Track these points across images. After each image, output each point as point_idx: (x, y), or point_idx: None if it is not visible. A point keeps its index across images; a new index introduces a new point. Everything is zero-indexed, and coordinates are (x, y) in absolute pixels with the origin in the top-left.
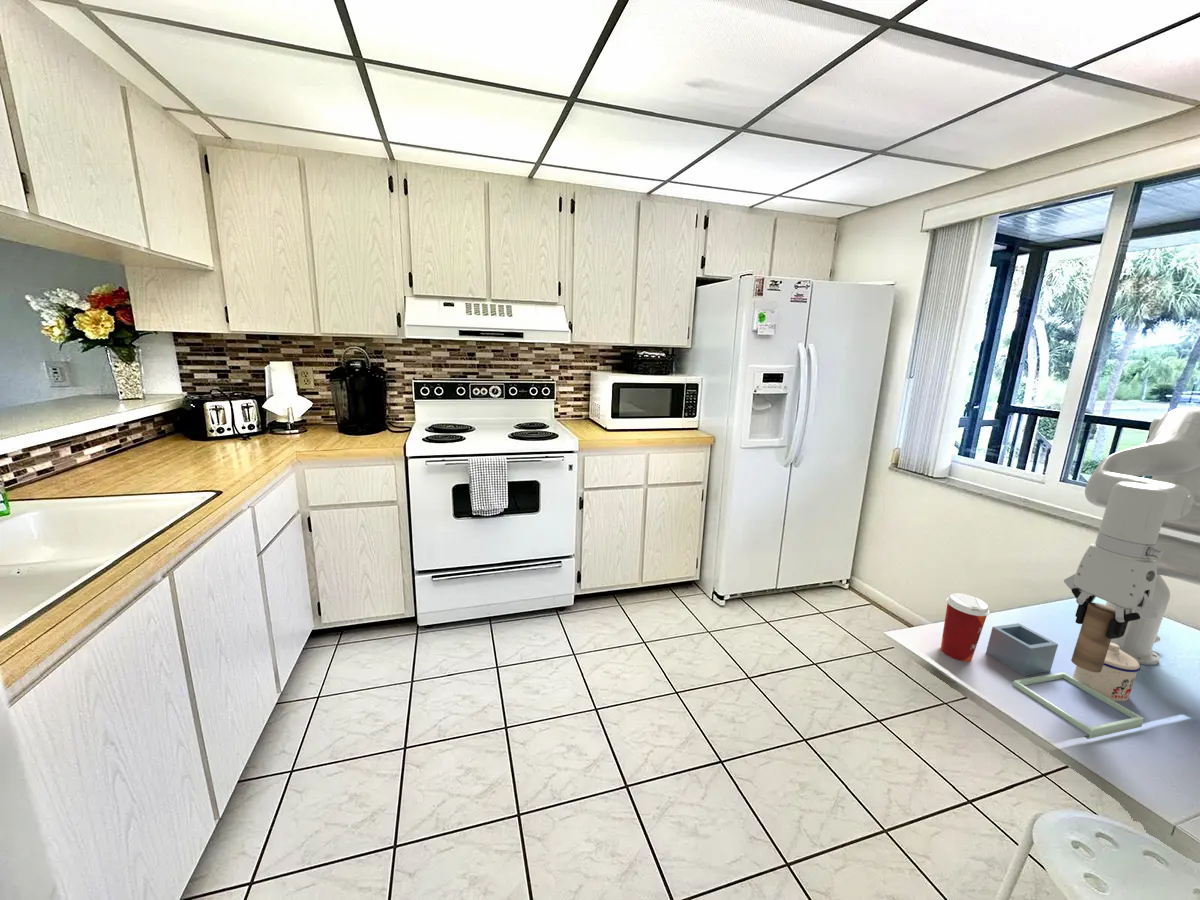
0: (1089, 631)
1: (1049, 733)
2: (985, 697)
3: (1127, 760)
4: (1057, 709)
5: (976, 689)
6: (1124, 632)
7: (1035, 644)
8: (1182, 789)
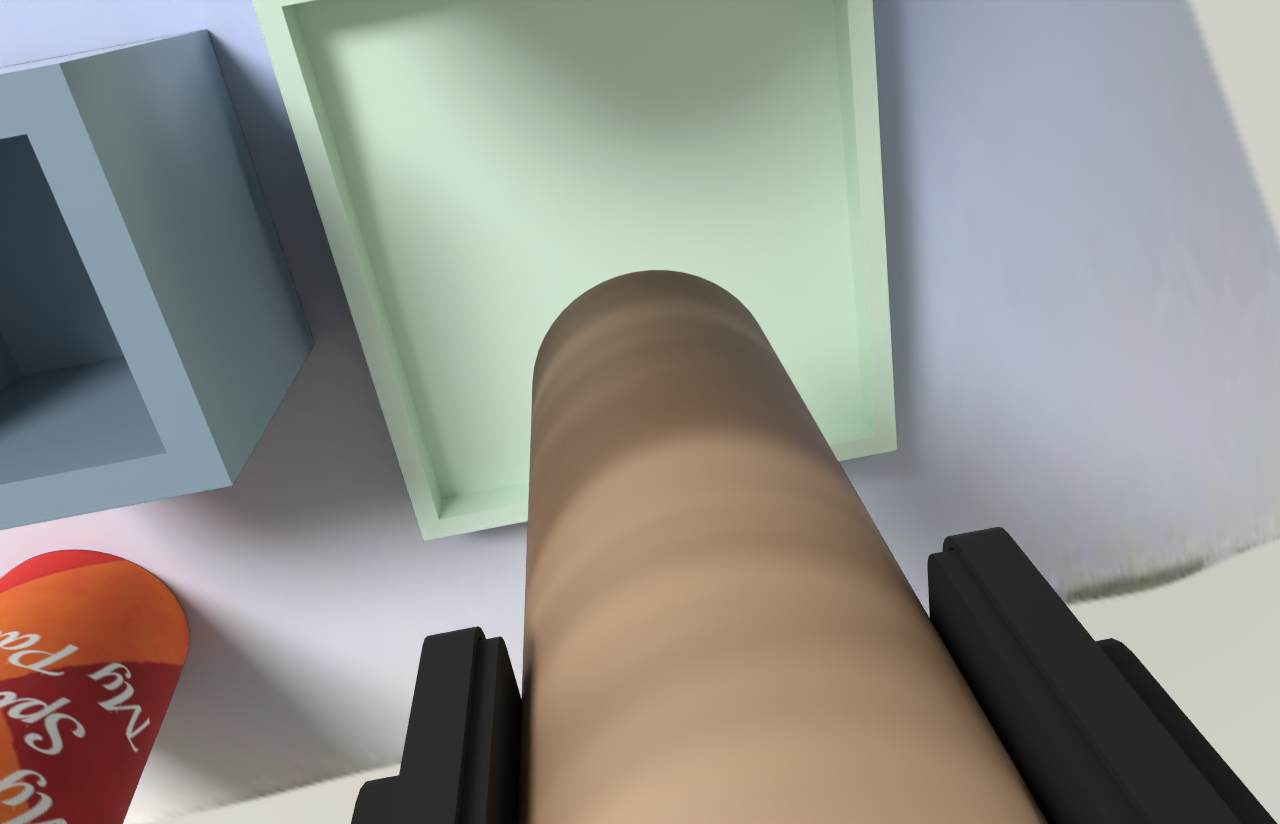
0: None
1: None
2: None
3: (1039, 349)
4: None
5: None
6: (1148, 679)
7: (136, 374)
8: (1249, 252)
